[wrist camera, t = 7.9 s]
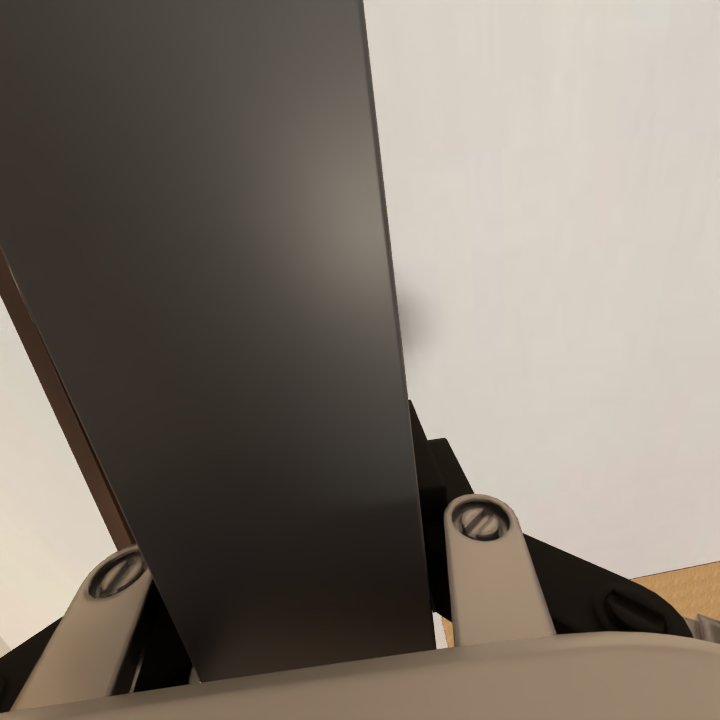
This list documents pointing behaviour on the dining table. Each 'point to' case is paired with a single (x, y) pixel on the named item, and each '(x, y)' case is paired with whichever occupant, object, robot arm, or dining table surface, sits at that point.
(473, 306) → the dining table surface
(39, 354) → the shelf
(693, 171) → the dining table surface
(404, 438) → the case
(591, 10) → the dining table surface
